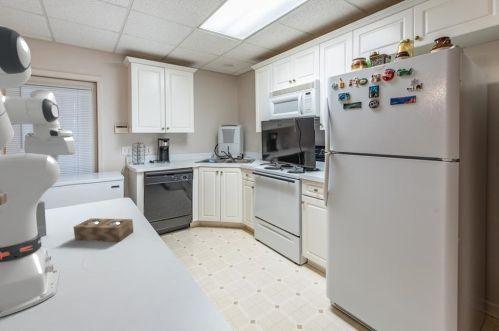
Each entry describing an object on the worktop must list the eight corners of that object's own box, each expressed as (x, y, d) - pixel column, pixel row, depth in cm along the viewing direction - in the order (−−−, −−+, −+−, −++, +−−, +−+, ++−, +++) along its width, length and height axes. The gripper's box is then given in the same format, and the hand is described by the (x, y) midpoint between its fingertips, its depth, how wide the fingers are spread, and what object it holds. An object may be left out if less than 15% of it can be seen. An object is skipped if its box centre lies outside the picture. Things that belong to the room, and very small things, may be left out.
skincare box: (20, 237, 110) (15, 202, 108) (40, 231, 116) (35, 198, 114) (29, 241, 106) (24, 204, 104) (49, 234, 112) (44, 200, 110)
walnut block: (133, 232, 113) (132, 219, 113) (119, 241, 104) (118, 227, 103) (92, 230, 116) (91, 218, 115) (75, 240, 106) (73, 226, 105)
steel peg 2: (123, 233, 111) (121, 221, 110) (117, 237, 107) (116, 225, 106) (114, 233, 111) (113, 221, 110) (108, 237, 107) (107, 224, 106)
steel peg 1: (102, 233, 112) (100, 221, 111) (95, 236, 108) (94, 224, 107) (93, 232, 112) (92, 220, 112) (86, 236, 108) (85, 224, 108)
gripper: (17, 133, 101) (22, 167, 103) (63, 132, 99) (67, 167, 101) (32, 132, 107) (36, 165, 109) (76, 131, 105) (80, 164, 107)
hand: (52, 166), depth 105 cm, fingers closed
